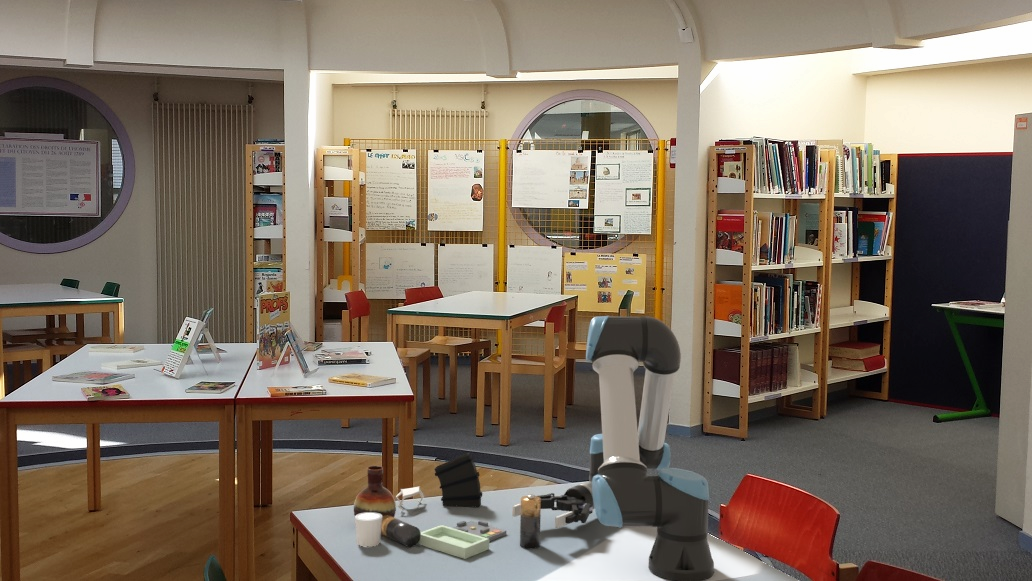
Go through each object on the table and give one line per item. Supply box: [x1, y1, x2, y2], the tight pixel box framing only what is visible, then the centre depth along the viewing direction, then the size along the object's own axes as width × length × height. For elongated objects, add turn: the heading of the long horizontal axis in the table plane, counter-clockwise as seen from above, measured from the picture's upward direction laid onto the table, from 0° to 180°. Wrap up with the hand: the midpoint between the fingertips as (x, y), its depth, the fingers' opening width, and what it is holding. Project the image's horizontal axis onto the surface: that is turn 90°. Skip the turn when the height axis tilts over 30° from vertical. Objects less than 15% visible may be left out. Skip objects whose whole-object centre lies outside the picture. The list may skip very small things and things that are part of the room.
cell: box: [519, 493, 542, 550], centre depth 232 cm, size 5×5×13 cm
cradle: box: [452, 520, 507, 542], centre depth 240 cm, size 12×9×2 cm
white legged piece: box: [395, 485, 425, 514], centre depth 261 cm, size 12×8×5 cm
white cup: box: [354, 512, 383, 547], centre depth 232 cm, size 7×7×7 cm
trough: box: [416, 524, 490, 560], centre depth 231 cm, size 16×9×3 cm, turn 52°
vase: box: [353, 465, 397, 518], centre depth 246 cm, size 11×11×15 cm
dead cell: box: [381, 515, 421, 548], centre depth 234 cm, size 13×5×5 cm, turn 42°
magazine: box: [433, 452, 483, 509], centre depth 264 cm, size 4×13×15 cm, turn 83°
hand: (534, 517), depth 234 cm, fingers open, 13 cm apart
